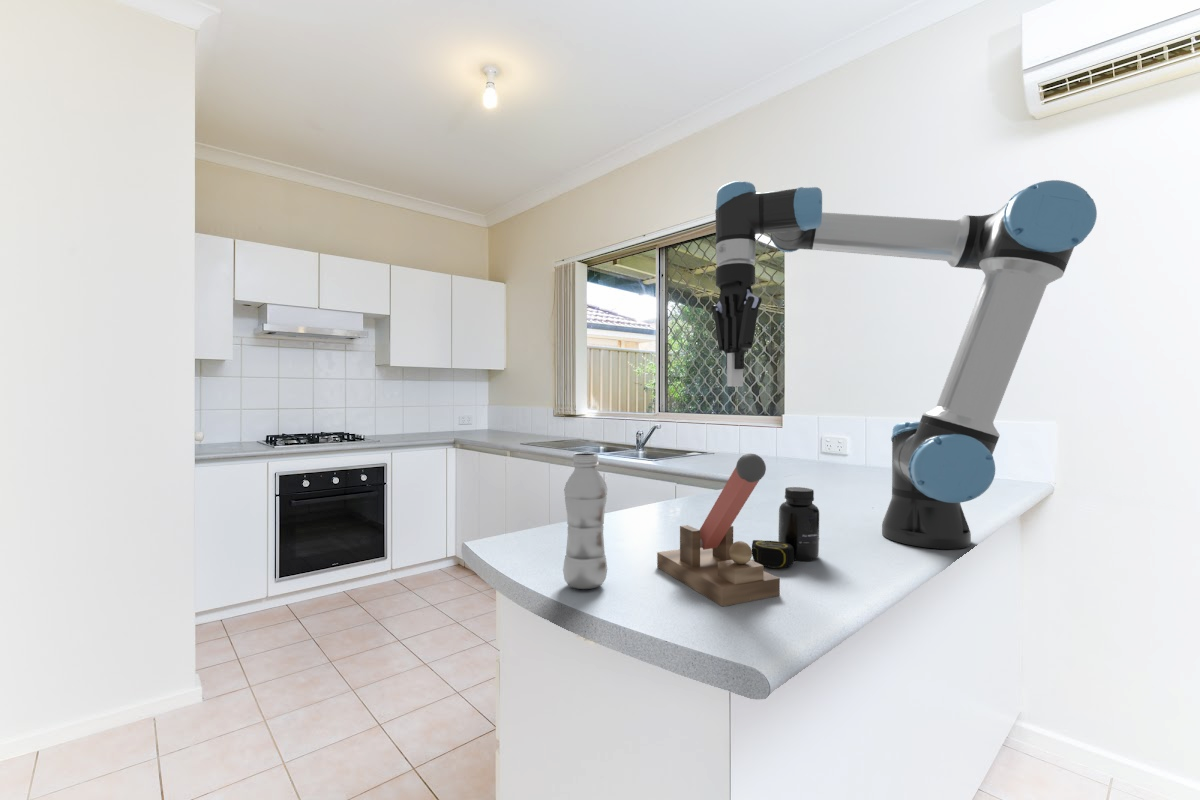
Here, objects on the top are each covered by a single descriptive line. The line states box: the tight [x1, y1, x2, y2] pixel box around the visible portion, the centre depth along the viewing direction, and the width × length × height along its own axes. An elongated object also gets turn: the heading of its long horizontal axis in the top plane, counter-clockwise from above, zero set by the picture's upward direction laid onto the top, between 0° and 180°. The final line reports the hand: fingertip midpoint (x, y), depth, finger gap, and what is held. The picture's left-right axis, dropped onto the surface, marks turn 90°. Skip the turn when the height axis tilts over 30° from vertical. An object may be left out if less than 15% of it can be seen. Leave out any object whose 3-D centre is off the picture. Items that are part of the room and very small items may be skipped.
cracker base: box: [656, 524, 781, 607], centre depth 84 cm, size 18×10×8 cm, turn 23°
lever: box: [699, 453, 767, 550], centre depth 81 cm, size 4×4×20 cm
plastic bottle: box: [562, 452, 608, 590], centre depth 81 cm, size 6×7×20 cm
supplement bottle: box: [778, 486, 820, 562], centre depth 97 cm, size 7×7×12 cm
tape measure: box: [751, 539, 795, 569], centre depth 92 cm, size 7×7×4 cm
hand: (735, 386), depth 106 cm, fingers closed
